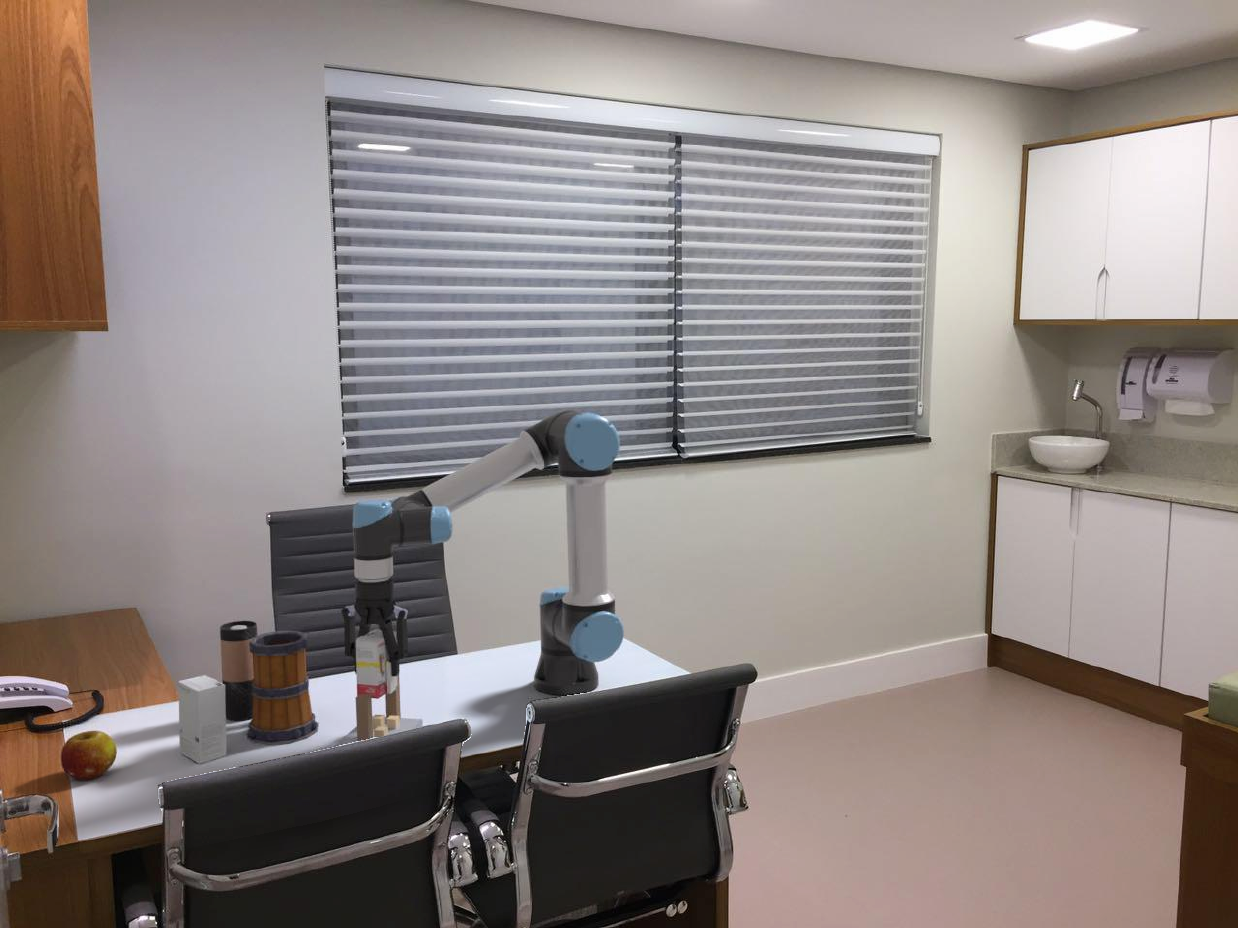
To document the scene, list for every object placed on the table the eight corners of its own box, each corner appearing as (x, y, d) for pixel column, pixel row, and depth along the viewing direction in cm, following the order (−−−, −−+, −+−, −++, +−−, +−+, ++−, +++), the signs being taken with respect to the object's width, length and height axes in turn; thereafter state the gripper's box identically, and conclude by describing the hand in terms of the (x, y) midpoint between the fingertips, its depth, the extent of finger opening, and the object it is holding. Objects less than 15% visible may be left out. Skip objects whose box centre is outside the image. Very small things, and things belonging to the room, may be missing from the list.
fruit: (50, 780, 189) (46, 739, 188) (90, 761, 197) (88, 722, 196) (88, 788, 185) (85, 746, 184) (128, 768, 194) (126, 728, 193)
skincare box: (179, 754, 200) (174, 680, 199) (208, 744, 205) (204, 673, 203) (200, 765, 195) (196, 690, 193) (230, 755, 200) (225, 681, 198)
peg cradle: (422, 725, 214) (420, 673, 213) (392, 756, 198) (390, 699, 197) (368, 722, 216) (366, 670, 215) (334, 752, 201) (332, 696, 199)
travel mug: (269, 710, 224) (264, 622, 221) (245, 723, 216) (241, 631, 214) (240, 707, 226) (235, 619, 224) (216, 719, 219) (211, 628, 217)
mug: (270, 710, 224) (265, 621, 222) (335, 710, 223) (331, 621, 221) (234, 745, 205) (229, 648, 202) (305, 745, 204) (301, 648, 202)
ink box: (378, 699, 201) (376, 641, 200) (355, 697, 203) (353, 639, 201) (399, 685, 209) (397, 629, 208) (377, 683, 211) (375, 627, 209)
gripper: (424, 575, 205) (427, 686, 208) (339, 571, 209) (343, 681, 211) (410, 583, 198) (413, 699, 201) (322, 580, 201) (327, 693, 204)
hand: (377, 690), depth 206 cm, fingers closed on ink box, 5 cm apart
